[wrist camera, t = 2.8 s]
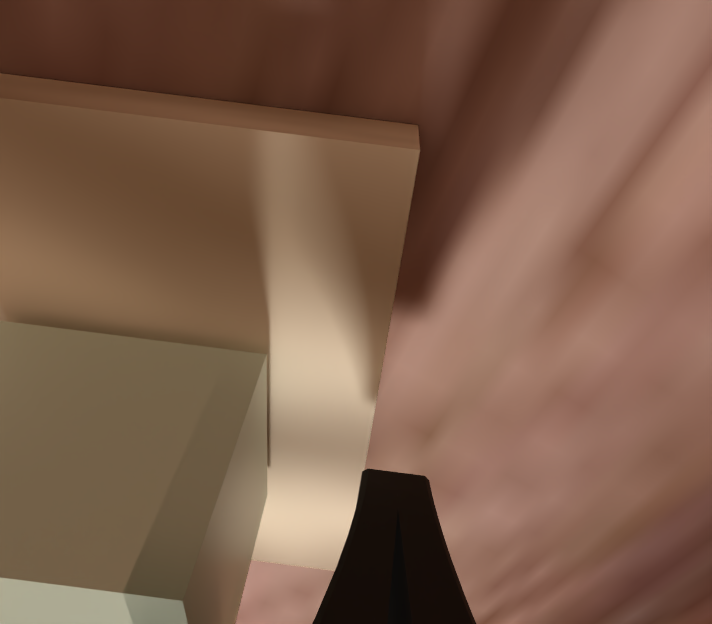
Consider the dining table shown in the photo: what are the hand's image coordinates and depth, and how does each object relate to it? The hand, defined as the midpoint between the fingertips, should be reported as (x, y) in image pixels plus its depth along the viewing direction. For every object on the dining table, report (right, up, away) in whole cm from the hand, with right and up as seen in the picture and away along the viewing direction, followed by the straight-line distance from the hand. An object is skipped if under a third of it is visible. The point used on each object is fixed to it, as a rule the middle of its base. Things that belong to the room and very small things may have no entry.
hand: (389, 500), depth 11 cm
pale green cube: (-6, +2, +1) cm, 6 cm away
